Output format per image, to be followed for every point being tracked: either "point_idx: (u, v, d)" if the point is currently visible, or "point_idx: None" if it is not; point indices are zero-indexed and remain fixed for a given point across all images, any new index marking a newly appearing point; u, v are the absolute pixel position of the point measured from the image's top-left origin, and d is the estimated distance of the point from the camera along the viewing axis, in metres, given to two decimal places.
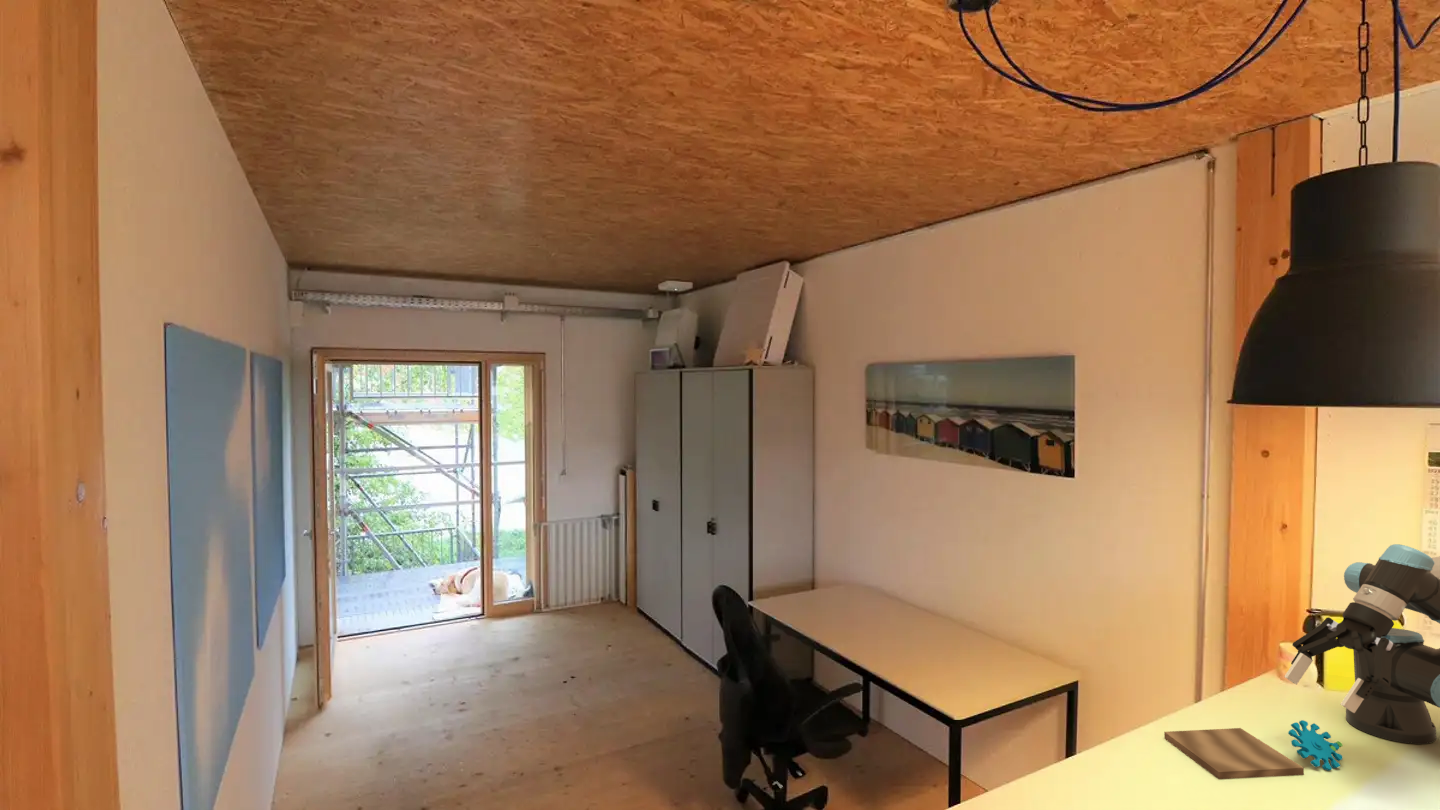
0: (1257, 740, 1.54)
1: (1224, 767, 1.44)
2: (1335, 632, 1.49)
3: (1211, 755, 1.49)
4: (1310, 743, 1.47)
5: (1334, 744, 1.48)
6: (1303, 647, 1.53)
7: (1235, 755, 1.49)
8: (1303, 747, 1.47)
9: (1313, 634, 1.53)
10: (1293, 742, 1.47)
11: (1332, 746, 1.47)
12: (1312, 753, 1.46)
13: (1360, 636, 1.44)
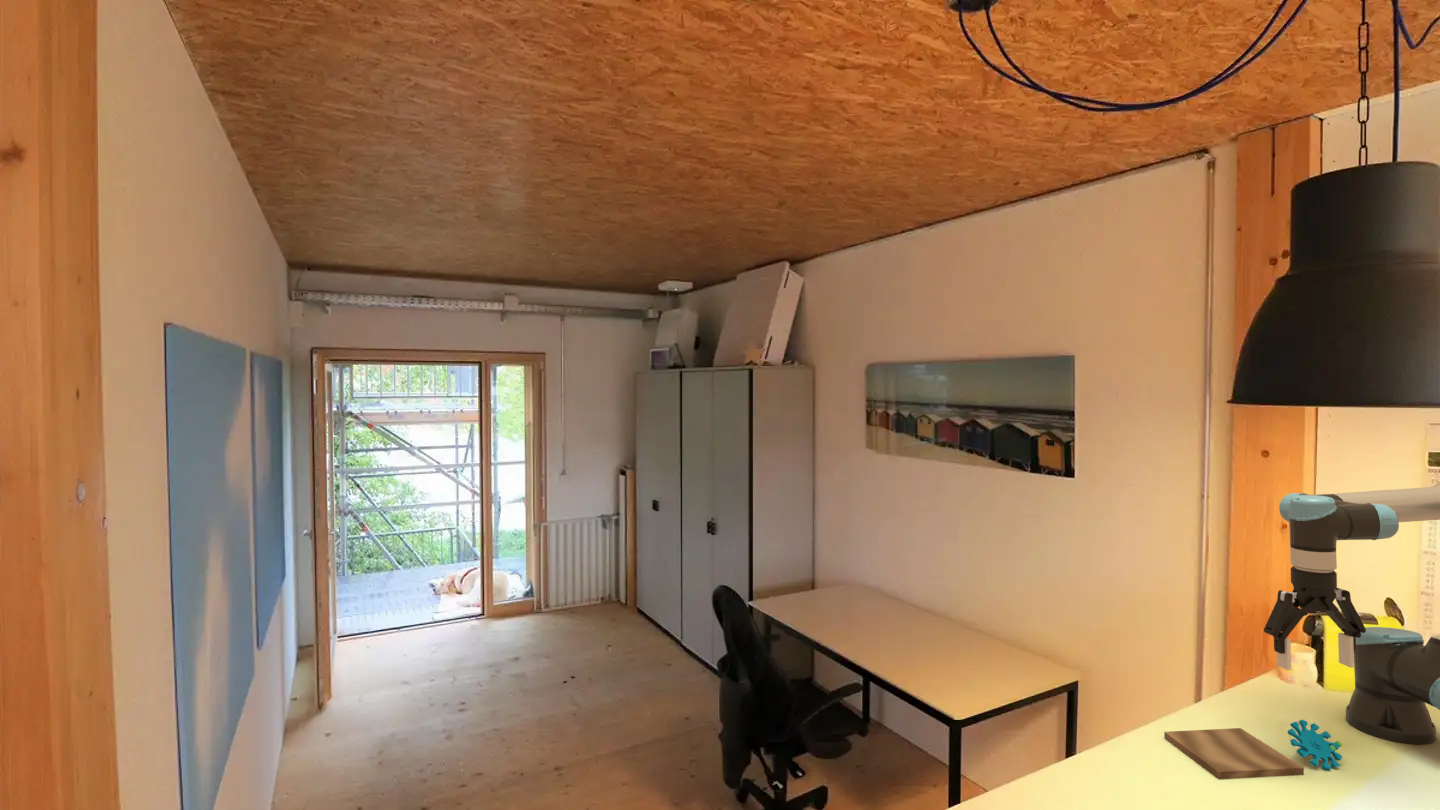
0: (1257, 740, 1.54)
1: (1224, 767, 1.44)
2: None
3: (1211, 755, 1.49)
4: (1309, 742, 1.48)
5: (1334, 744, 1.48)
6: None
7: (1235, 755, 1.49)
8: (1302, 746, 1.47)
9: None
10: (1292, 741, 1.48)
11: (1332, 746, 1.47)
12: (1311, 752, 1.46)
13: None
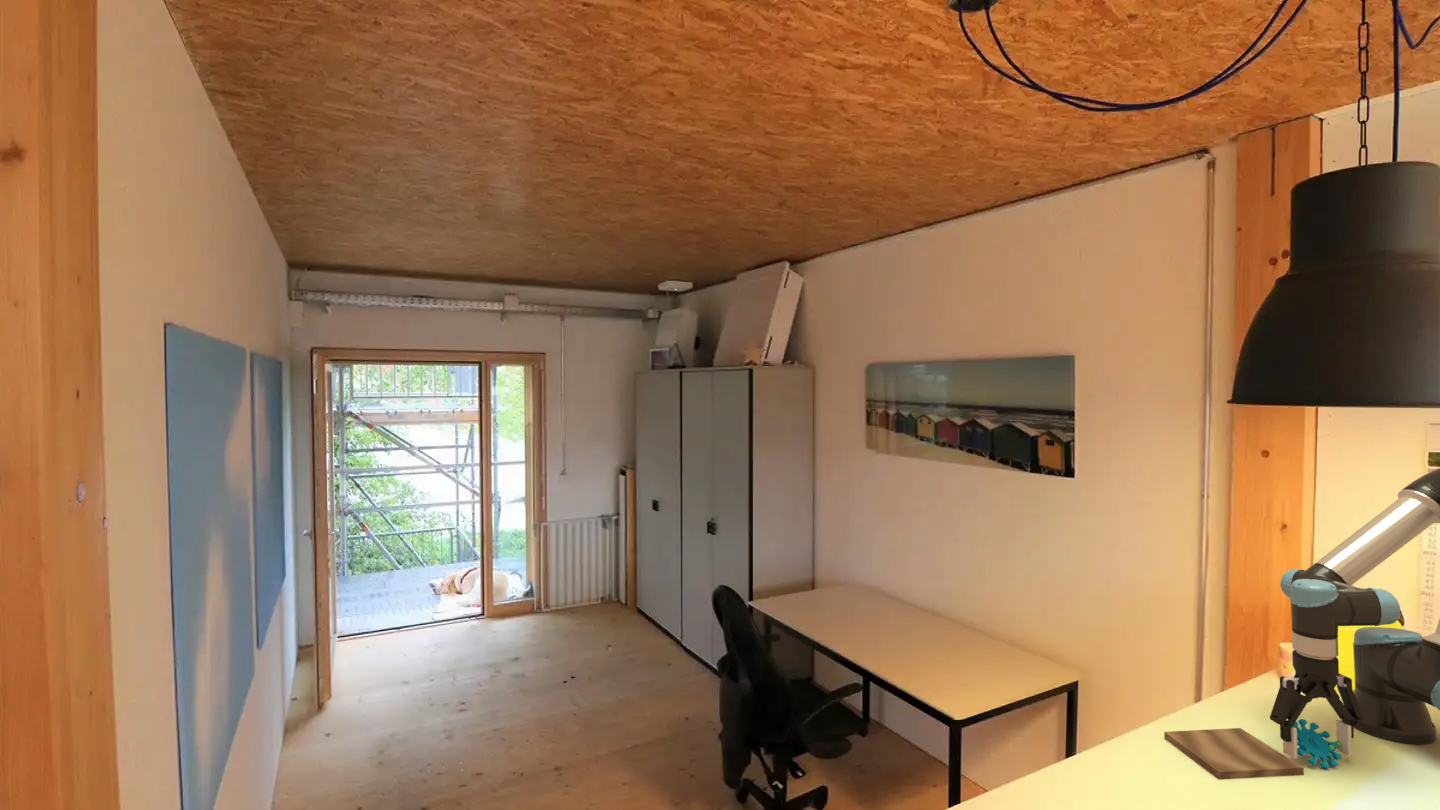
0: (1257, 740, 1.54)
1: (1224, 767, 1.44)
2: None
3: (1211, 755, 1.49)
4: (1308, 741, 1.48)
5: (1333, 743, 1.48)
6: None
7: (1235, 755, 1.49)
8: (1300, 745, 1.48)
9: None
10: None
11: (1331, 745, 1.48)
12: (1309, 751, 1.46)
13: None
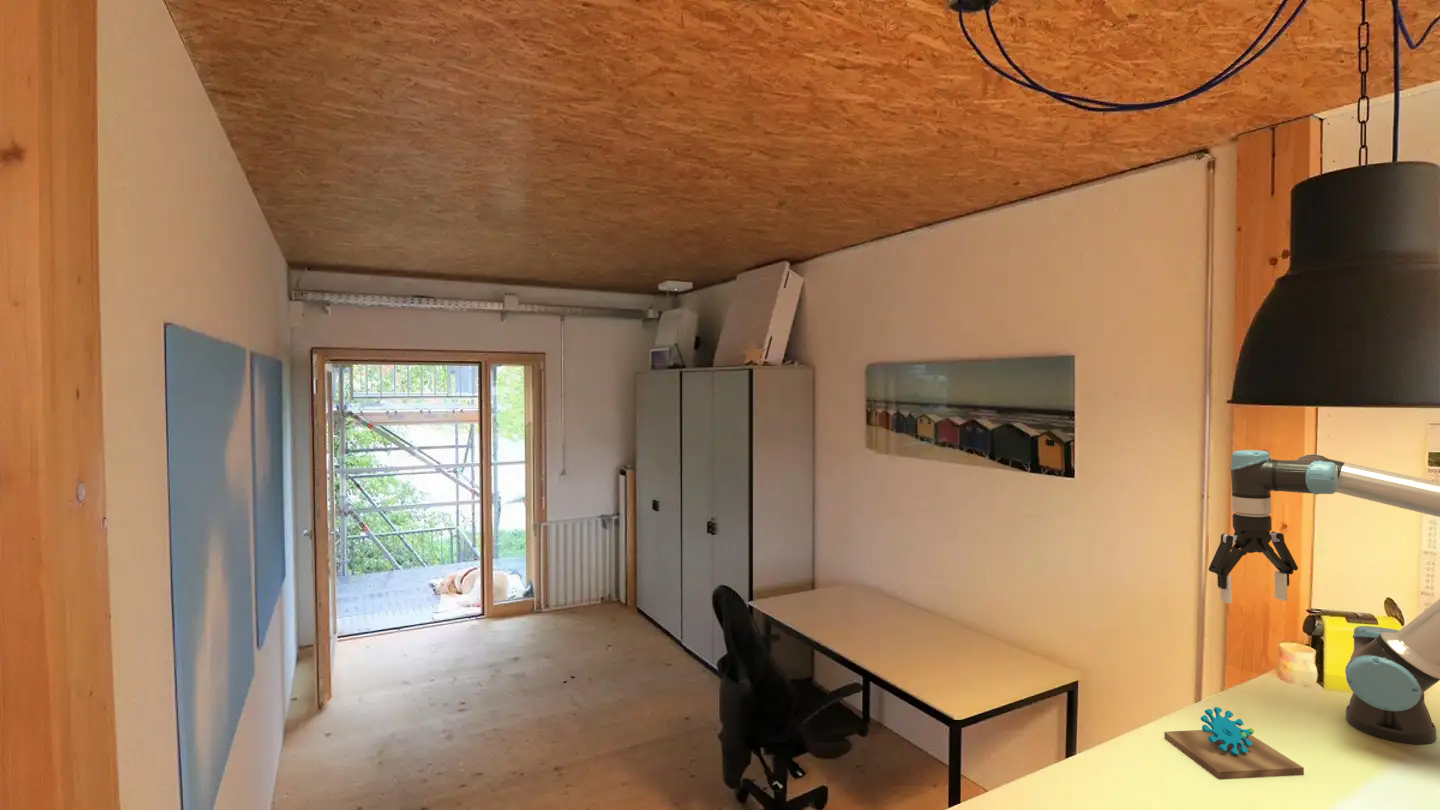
0: (1257, 740, 1.54)
1: (1224, 767, 1.44)
2: None
3: (1211, 755, 1.49)
4: (1220, 729, 1.52)
5: (1245, 730, 1.52)
6: None
7: (1235, 755, 1.49)
8: (1213, 732, 1.51)
9: None
10: (1203, 727, 1.52)
11: (1243, 732, 1.51)
12: (1221, 738, 1.50)
13: None
